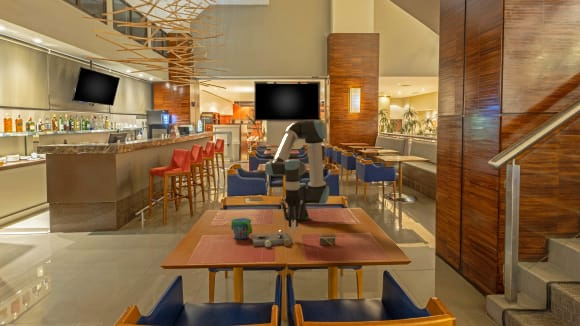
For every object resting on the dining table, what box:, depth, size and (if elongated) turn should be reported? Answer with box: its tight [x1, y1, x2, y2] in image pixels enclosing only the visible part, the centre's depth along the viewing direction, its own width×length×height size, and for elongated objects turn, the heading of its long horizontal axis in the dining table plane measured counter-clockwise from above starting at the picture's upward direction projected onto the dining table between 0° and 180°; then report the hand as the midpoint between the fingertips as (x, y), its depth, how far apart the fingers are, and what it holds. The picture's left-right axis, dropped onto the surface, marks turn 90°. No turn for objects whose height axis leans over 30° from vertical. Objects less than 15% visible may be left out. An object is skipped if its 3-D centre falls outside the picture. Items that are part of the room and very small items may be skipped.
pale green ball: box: [264, 240, 272, 248], centre depth 219 cm, size 4×4×4 cm
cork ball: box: [284, 239, 292, 247], centre depth 220 cm, size 4×4×4 cm
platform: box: [317, 232, 338, 246], centre depth 221 cm, size 12×18×7 cm, turn 96°
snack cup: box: [230, 217, 253, 240], centre depth 237 cm, size 16×10×10 cm
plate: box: [250, 232, 293, 248], centre depth 229 cm, size 20×13×2 cm, turn 100°
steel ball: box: [276, 229, 285, 237], centre depth 229 cm, size 4×4×4 cm
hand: (293, 232), depth 230 cm, fingers closed
